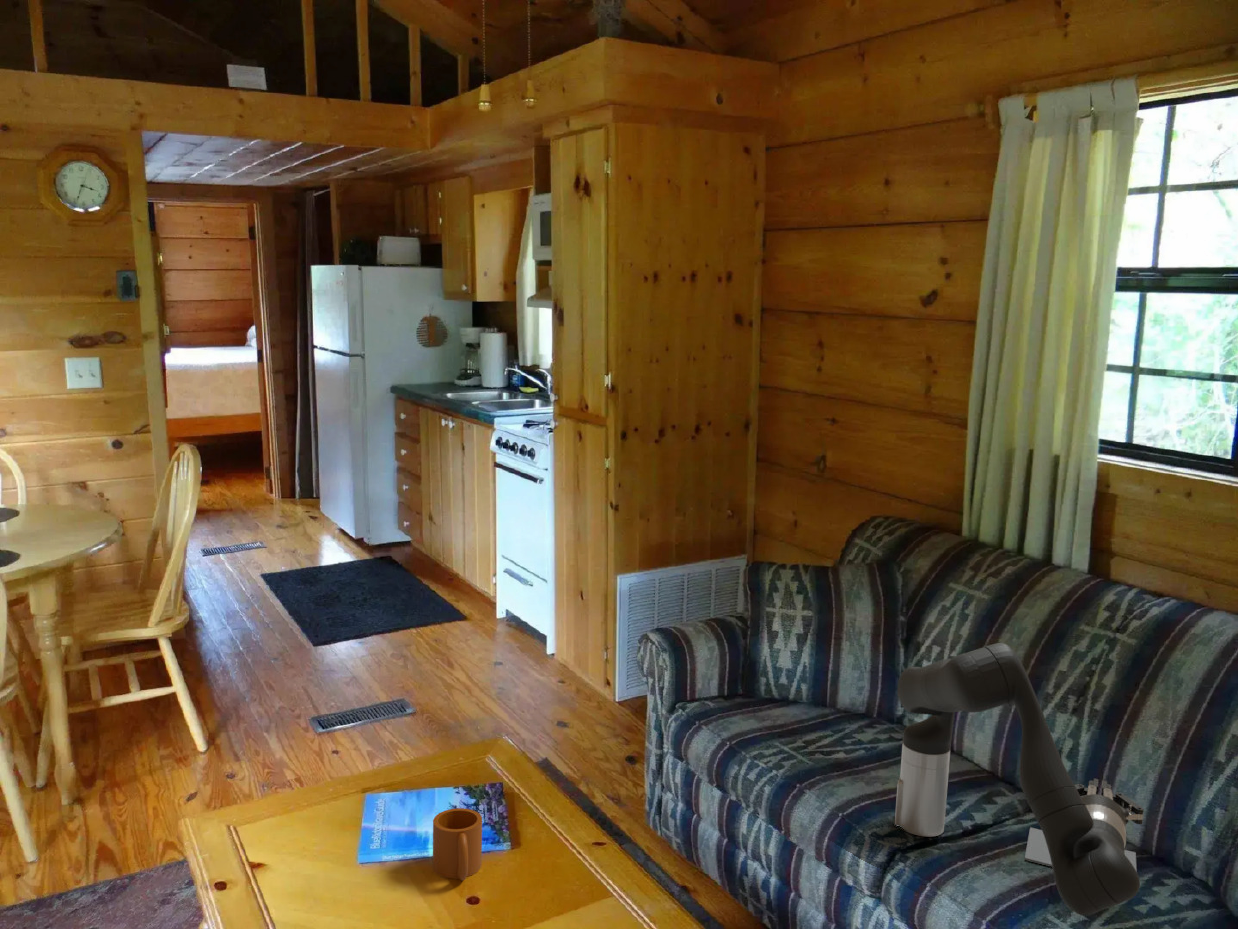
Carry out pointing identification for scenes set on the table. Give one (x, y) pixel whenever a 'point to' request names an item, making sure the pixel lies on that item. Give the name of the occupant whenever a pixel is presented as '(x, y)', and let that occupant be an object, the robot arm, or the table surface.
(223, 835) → the table surface
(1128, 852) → the mat
